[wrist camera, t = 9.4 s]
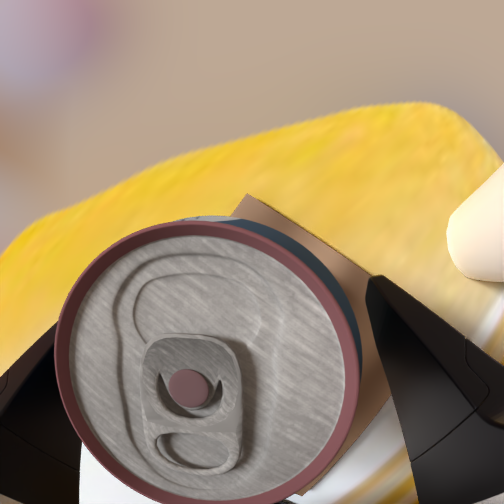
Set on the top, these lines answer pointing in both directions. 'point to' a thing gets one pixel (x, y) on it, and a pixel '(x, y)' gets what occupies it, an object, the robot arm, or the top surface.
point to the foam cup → (480, 231)
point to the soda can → (209, 362)
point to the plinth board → (354, 287)
